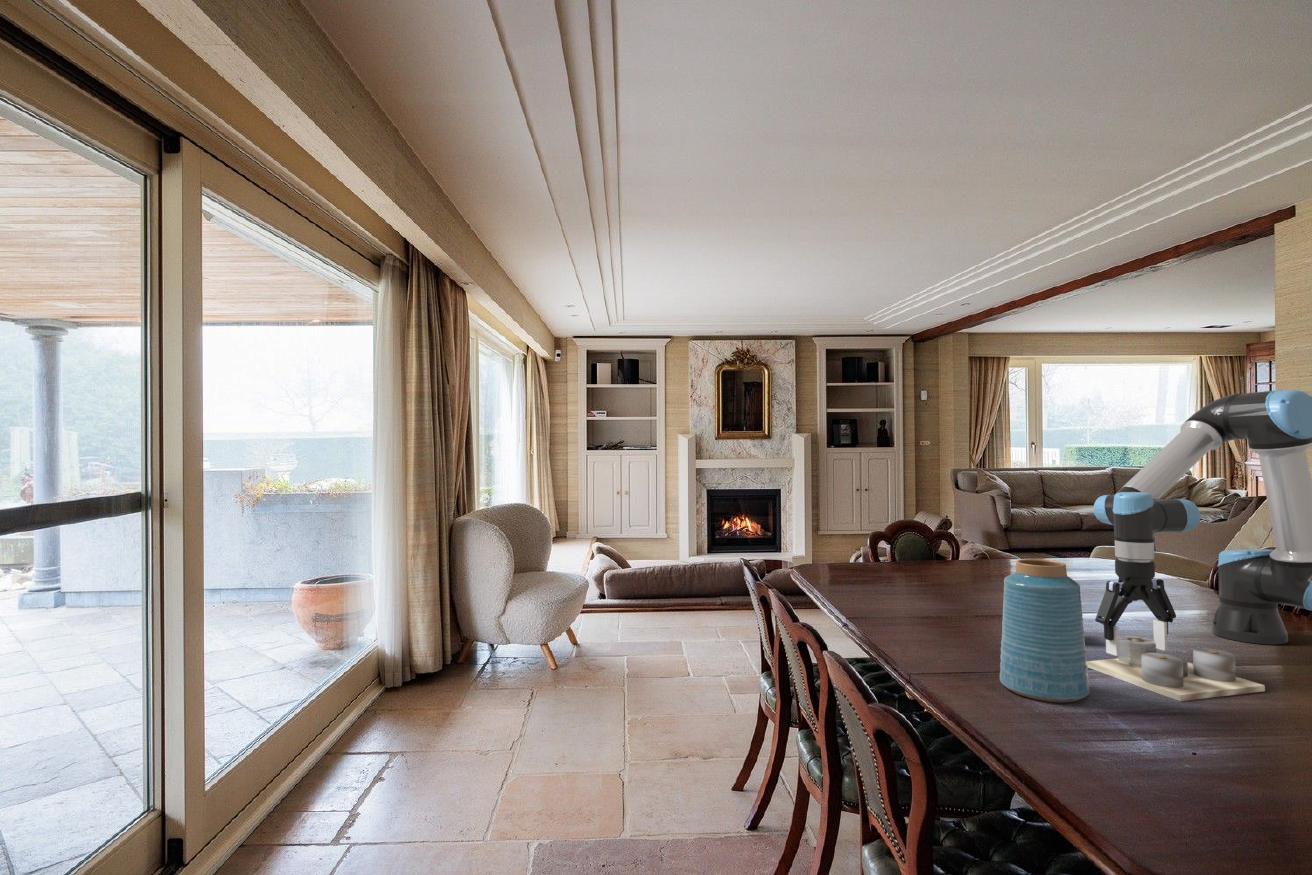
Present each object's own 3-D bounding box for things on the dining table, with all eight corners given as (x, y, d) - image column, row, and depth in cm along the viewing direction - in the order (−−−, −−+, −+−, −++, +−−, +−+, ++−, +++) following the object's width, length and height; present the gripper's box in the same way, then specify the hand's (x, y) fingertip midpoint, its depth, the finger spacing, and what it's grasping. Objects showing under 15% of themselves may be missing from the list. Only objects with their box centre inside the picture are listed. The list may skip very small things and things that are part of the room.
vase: (1077, 681, 146) (1075, 557, 146) (1100, 708, 131) (1097, 571, 131) (994, 673, 151) (992, 554, 152) (1006, 699, 136) (1003, 567, 136)
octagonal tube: (1135, 655, 159) (1134, 634, 159) (1163, 664, 152) (1163, 642, 152) (1110, 658, 158) (1110, 636, 158) (1138, 667, 151) (1138, 645, 151)
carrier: (1162, 658, 160) (1162, 631, 160) (1264, 691, 139) (1264, 659, 139) (1086, 666, 155) (1085, 638, 155) (1179, 701, 134) (1178, 668, 134)
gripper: (1162, 554, 162) (1164, 642, 161) (1075, 559, 156) (1078, 651, 156) (1193, 559, 154) (1196, 651, 154) (1104, 564, 149) (1106, 661, 149)
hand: (1136, 651), depth 155 cm, fingers open, 13 cm apart
